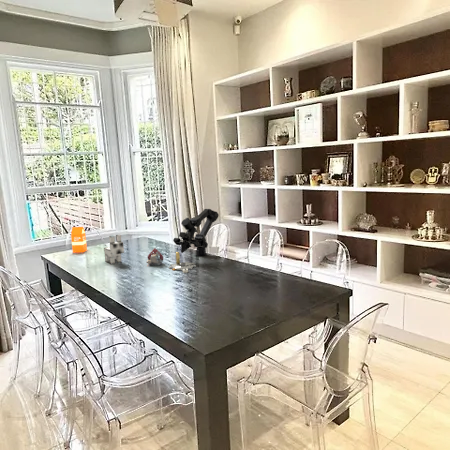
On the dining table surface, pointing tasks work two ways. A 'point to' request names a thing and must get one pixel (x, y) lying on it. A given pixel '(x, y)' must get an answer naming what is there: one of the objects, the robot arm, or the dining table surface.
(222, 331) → the dining table surface
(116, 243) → the toy llama
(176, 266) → the sprocket
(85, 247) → the orange juice
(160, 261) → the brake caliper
